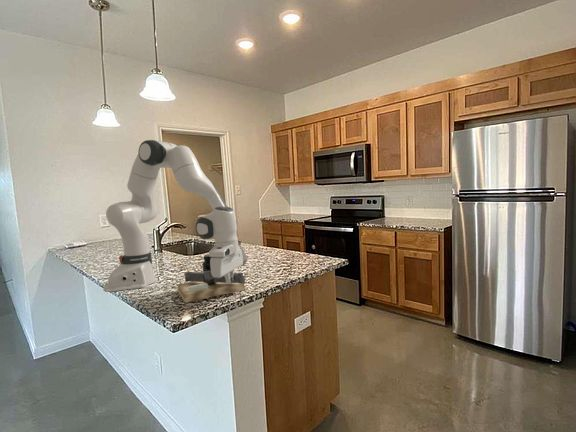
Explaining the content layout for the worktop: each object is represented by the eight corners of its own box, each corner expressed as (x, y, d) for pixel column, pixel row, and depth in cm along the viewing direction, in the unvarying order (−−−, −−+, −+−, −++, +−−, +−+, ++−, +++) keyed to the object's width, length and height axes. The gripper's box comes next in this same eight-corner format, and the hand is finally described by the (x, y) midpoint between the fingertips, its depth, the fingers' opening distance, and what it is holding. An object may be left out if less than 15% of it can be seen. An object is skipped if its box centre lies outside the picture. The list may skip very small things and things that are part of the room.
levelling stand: (185, 302, 123) (183, 290, 123) (178, 291, 137) (176, 280, 137) (244, 289, 134) (243, 278, 134) (232, 281, 148) (231, 270, 148)
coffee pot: (227, 263, 185) (225, 237, 184) (247, 261, 187) (245, 235, 185) (226, 272, 164) (224, 243, 163) (249, 270, 166) (247, 241, 164)
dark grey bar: (182, 284, 137) (181, 272, 136) (189, 280, 141) (188, 269, 141) (242, 286, 128) (241, 273, 128) (247, 282, 133) (246, 270, 133)
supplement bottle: (212, 277, 156) (210, 253, 154) (221, 279, 151) (219, 254, 150) (200, 281, 150) (198, 256, 149) (209, 283, 146) (207, 257, 145)
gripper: (232, 243, 138) (234, 274, 139) (206, 253, 119) (209, 290, 120) (245, 243, 136) (247, 275, 137) (221, 253, 117) (224, 290, 118)
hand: (229, 282), depth 129 cm, fingers closed
